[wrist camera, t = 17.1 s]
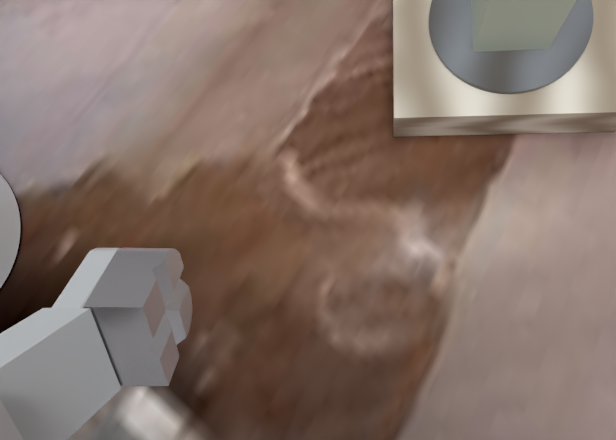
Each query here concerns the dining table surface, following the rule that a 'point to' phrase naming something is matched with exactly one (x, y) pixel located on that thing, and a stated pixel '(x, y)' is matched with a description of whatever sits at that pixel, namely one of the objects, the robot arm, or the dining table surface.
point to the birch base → (501, 74)
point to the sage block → (517, 23)
